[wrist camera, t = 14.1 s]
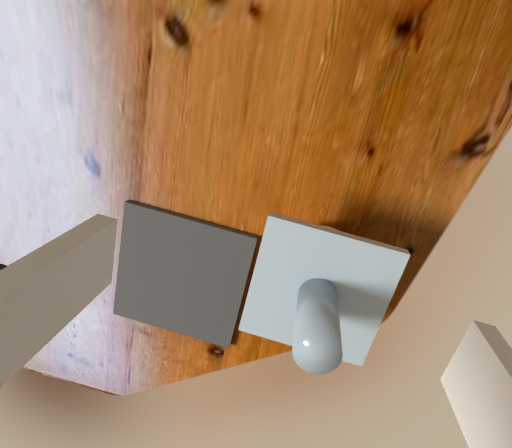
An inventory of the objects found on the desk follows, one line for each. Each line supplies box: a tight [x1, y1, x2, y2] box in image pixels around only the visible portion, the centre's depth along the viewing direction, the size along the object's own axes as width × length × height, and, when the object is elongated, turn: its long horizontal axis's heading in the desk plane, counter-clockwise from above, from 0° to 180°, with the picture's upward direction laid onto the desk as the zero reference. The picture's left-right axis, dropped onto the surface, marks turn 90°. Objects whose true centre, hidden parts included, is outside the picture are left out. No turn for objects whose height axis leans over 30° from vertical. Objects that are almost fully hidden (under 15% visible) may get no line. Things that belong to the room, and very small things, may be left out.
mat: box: [113, 200, 258, 348], centre depth 52 cm, size 18×18×1 cm
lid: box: [238, 212, 410, 374], centre depth 35 cm, size 14×14×10 cm
